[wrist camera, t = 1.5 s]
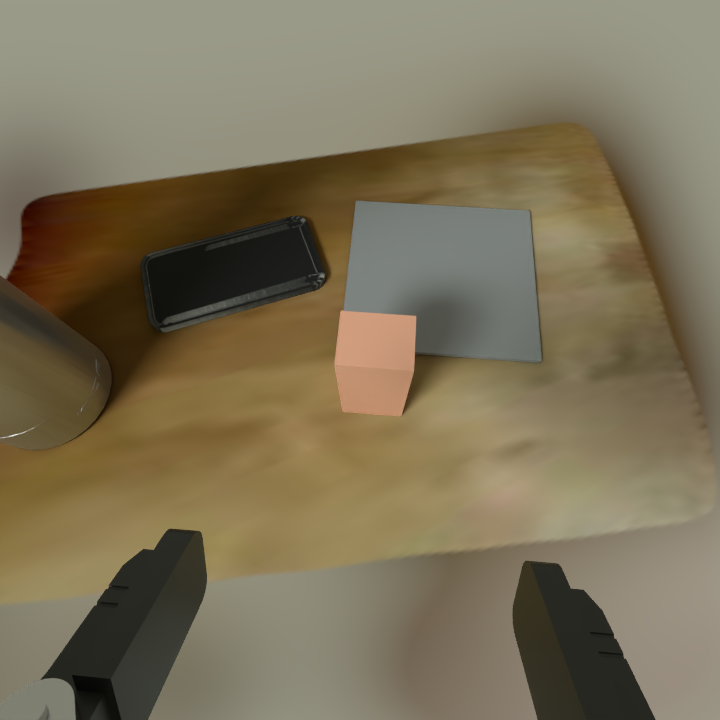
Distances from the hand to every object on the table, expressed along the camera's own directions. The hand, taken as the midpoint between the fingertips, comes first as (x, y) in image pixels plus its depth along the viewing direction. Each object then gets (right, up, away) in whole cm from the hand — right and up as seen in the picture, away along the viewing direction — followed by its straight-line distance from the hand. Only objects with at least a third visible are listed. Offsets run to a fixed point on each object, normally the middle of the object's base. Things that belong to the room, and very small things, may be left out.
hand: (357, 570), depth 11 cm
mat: (+7, +12, +27) cm, 31 cm away
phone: (-11, +13, +28) cm, 33 cm away
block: (+1, +3, +23) cm, 23 cm away
